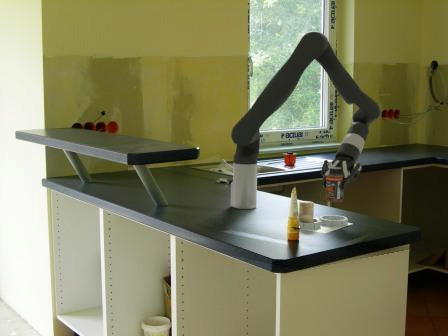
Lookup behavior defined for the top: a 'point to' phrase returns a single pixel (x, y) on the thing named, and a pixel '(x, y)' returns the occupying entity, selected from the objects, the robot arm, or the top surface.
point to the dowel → (306, 211)
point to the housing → (325, 223)
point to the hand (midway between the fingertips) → (332, 187)
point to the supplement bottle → (334, 185)
